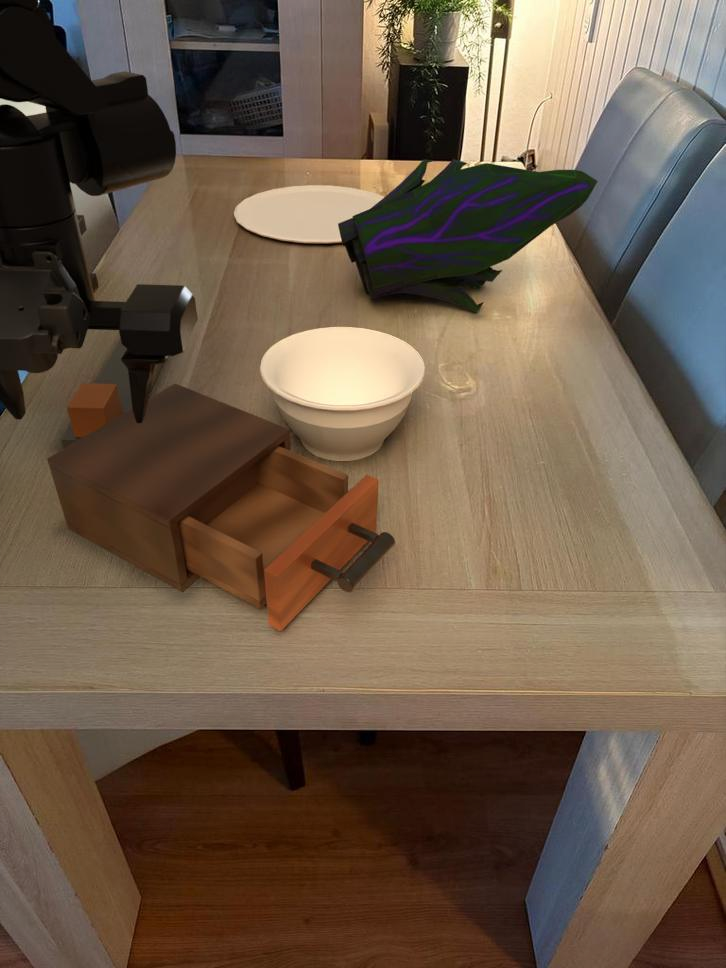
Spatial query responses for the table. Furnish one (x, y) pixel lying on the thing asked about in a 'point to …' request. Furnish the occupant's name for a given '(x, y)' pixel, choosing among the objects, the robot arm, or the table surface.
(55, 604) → the table surface
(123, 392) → the board
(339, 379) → the bowl
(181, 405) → the cabinet
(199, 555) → the drawer
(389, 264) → the decorative plant
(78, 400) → the orange cube block
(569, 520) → the table surface
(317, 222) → the plate
